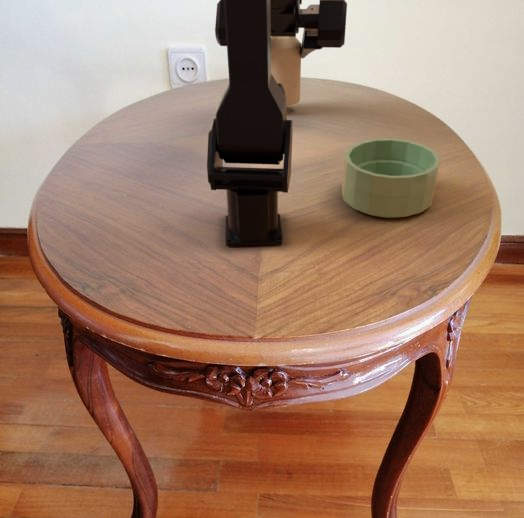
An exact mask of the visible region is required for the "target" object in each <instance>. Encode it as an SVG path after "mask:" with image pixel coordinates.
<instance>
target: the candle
mask: <svg viewBox="0 0 524 518" xmlns="http://www.w3.org/2000/svg"><path fill="white" fill-rule="evenodd" d="M301 44H302V42H301V41H300V40H299V39H298V38H297V36H296V37H278V36H271V71H272V76H273V77H274V79H275V80H276V82H277V83H281V84H282V86H283V88H284V90H285V96H286V100H287V107H291V106H294V105H296V104H298V103H300V102H301V101H300V100H301V75H302V72H301V71H302V58H301Z"/></svg>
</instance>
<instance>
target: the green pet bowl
mask: <svg viewBox="0 0 524 518" xmlns="http://www.w3.org/2000/svg"><path fill="white" fill-rule="evenodd" d="M440 166H441V158H440V155H438V153H437V151H436V150H434V149H432V148H430V147H428V146H427V145H426V144H422V143H420V142H416V141H412V140H408V139H400V138H391V137H389V138H373V139H367V140H363V141H359V142H357V143H355V144H353V145H351V146H349V147H348V149H347V150H346V151H345V153H344V155H343V168H342V178H341V179H342V180H341V196H342V199H343V201H344V202H345V203H346V204H347V205H348V206H350V207H351V208H352V209H354V210H355V211H359V212H361V213H363V214H366V215H370V216H371V217H372V216H373V217H377V218H378V217H379V218H386V219H387V218H388V219H395V218H405V217H409V216H413V215H418V214H421V213H422V212H425V211H426V210H427V209H428V208H430V207H431V206H432V203H433V200H434V197H435V191H436V186H437V182H438V176H439V170H440Z"/></svg>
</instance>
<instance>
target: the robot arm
mask: <svg viewBox="0 0 524 518" xmlns="http://www.w3.org/2000/svg"><path fill="white" fill-rule="evenodd" d="M302 4H303V0H219V1H218V2H217V3H216V14H215V23H214V25H215V27H214V32H215V33H214V35H215V39H216V43H217V44H218V45H219V46H220V47H226V53H227V67H228V68H227V69H228V81H229V82H228V85H227V86H226V89H225V91H224V92H223V95H222V97H221V101H219V102H220V103H219V105H218V108H217V110H216V113H215V117H214V118H213V121H212V126H211V129H210V130H209V131H208V135H207V155H206V156H207V157H206V174H207V182H208V184H209V185H210V190H211V191H217V190H221V191H225V192H226V205H227V215H226V216H225V229H224V230H225V231H224V233H225V234H224V235H225V237H224V242H225V246H227V247H245V246H274V245H276V246H277V245H278V246H279V245H282V244H283V242H284V238H283V230H282V223H281V222H282V221H281V214H280V213H279V198H278V197H279V192H281V193H285V194H287V193H289V188H290V182H291V177H292V160H293V159H292V158H293V157H292V156H293V131H294V128H293V126H294V125H293V124H294V123H293V119H288V112H287V111H288V109H287V108H288V106H287V100H286V96H285V90H284V88H283V86H282V84H281V83H277V82H276V80H275V79H274V77H273V76H272V71H271V37H272V36H278V37H296V38H297V34H299V32H300V29H303V32H302V38H301V59H305V58H306V57H307V56H309V55H310V54H311V53H312V52H315V51H316V50H318V51H319V50H322V49H323V48H336V49H337V48H338V49H341V48H342V47H343V46H344V45H345V42H346V41H345V40H346V26H347V12H348V2H346V0H319V3H318V4H309V5H308V6H307V7H306V8H301V5H302ZM282 161H283V165H282V168H274V167H273V168H269V167H240V166H239V167H238V166H224V165H223V163H225V164H243V165H247V164H248V165H272V166H273V165H274V166H275V165H277V166H279V165H281V162H282Z"/></svg>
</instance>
